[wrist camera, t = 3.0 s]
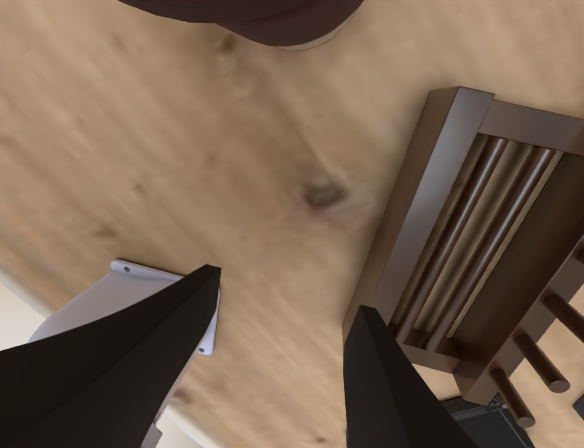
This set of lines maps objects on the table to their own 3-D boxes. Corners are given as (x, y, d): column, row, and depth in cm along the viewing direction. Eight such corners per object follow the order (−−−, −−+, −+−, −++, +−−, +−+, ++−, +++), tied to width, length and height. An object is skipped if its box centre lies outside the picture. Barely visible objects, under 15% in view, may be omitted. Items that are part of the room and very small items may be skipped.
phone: (540, 455, 24) (381, 486, 29) (531, 441, 25) (380, 473, 30) (504, 398, 22) (341, 442, 27) (497, 385, 23) (341, 430, 28)
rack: (341, 326, 23) (344, 410, 17) (430, 90, 16) (495, 79, 9) (462, 357, 23) (512, 457, 16) (612, 130, 15) (813, 148, 9)
